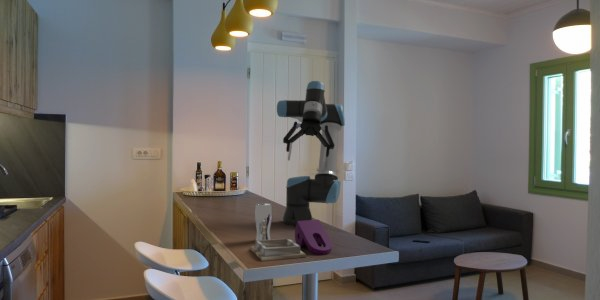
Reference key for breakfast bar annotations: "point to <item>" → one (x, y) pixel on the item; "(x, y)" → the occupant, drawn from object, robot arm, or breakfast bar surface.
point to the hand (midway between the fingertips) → (306, 161)
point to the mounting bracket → (313, 236)
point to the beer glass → (263, 220)
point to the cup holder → (277, 249)
